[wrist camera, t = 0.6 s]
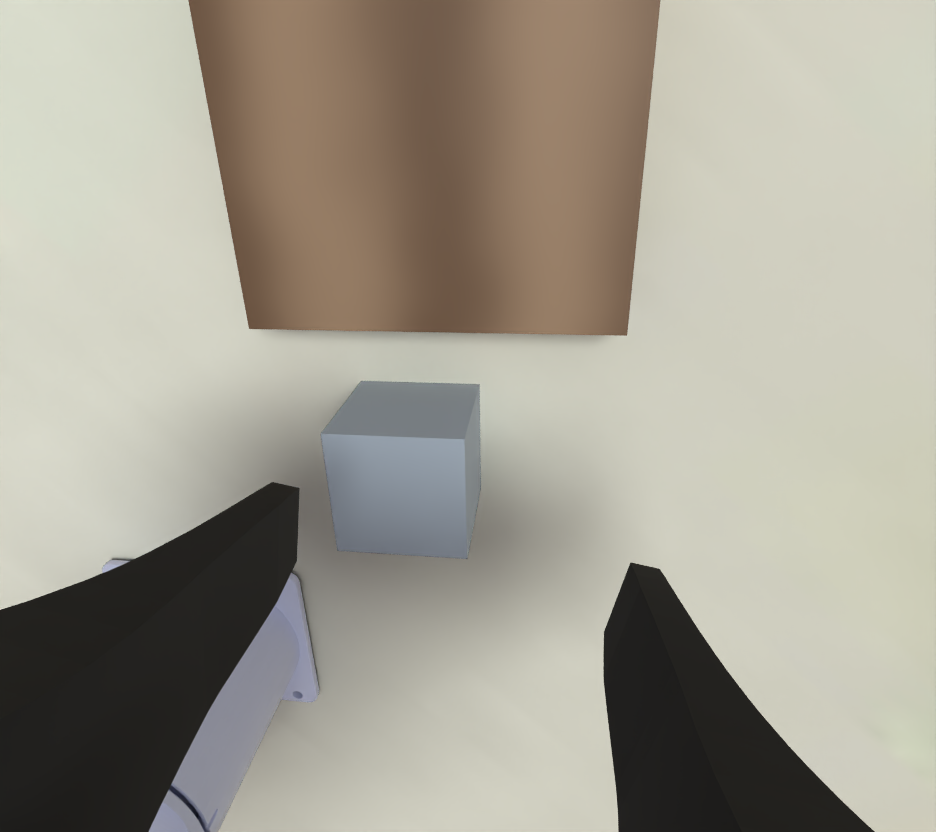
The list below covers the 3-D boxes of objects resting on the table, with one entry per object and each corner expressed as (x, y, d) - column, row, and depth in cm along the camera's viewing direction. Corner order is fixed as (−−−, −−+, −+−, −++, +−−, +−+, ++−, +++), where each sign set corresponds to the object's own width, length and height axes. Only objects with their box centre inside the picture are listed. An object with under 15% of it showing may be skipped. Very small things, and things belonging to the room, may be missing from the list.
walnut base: (286, 305, 22) (249, 328, 19) (222, -111, 17) (159, -159, 14) (616, 309, 20) (626, 335, 18) (657, -145, 15) (680, -206, 13)
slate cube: (372, 481, 24) (337, 550, 20) (361, 380, 22) (320, 433, 18) (480, 487, 24) (467, 558, 20) (479, 383, 22) (464, 439, 18)
